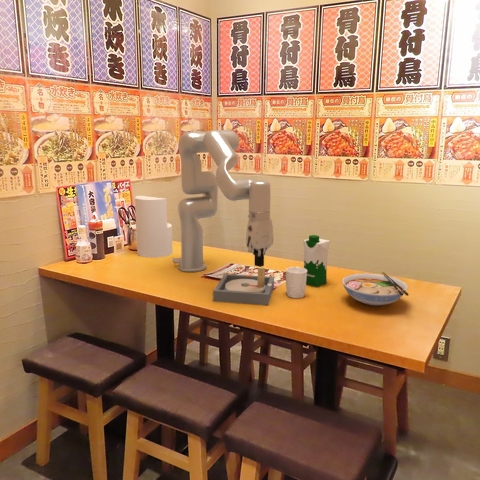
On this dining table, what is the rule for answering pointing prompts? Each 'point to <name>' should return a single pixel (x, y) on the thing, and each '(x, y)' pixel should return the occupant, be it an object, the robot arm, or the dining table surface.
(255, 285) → the dial
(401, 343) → the dining table surface
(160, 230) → the cylinder
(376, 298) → the ramen bowl
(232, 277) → the dial housing
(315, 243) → the milk carton
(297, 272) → the white cup
